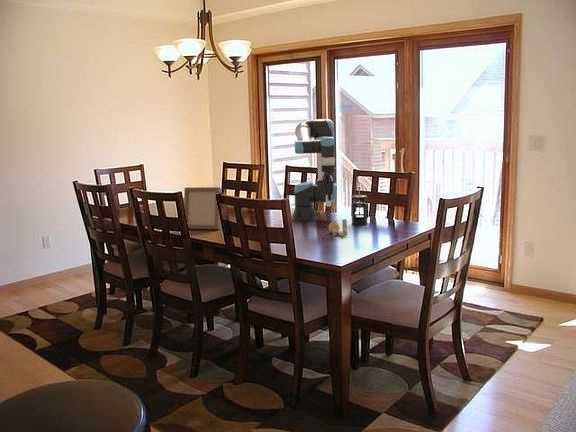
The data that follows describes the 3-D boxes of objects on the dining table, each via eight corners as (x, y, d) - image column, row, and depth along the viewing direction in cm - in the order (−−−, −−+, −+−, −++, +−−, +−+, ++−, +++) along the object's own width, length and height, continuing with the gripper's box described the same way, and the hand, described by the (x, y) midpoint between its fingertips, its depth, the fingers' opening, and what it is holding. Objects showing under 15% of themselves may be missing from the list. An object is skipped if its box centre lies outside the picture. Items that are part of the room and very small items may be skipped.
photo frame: (217, 230, 327) (215, 188, 323) (183, 230, 332) (180, 188, 328) (226, 225, 342) (224, 185, 337) (193, 225, 346) (190, 185, 342)
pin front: (334, 231, 306) (340, 234, 298) (338, 229, 307) (344, 232, 298) (336, 235, 307) (341, 238, 299) (339, 233, 307) (345, 236, 299)
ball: (331, 227, 306) (330, 235, 310) (341, 226, 307) (340, 234, 311) (327, 220, 310) (326, 228, 314) (338, 219, 311) (336, 227, 315)
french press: (358, 226, 326) (357, 187, 322) (347, 224, 334) (347, 186, 330) (372, 223, 333) (372, 185, 329) (362, 221, 340) (361, 184, 336)
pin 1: (331, 235, 304) (331, 220, 303) (335, 235, 305) (335, 219, 303) (333, 236, 302) (333, 221, 300) (337, 235, 303) (337, 220, 301)
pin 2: (341, 234, 306) (341, 219, 304) (346, 234, 307) (345, 218, 305) (343, 235, 304) (343, 220, 302) (347, 234, 304) (347, 219, 303)
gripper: (317, 164, 318) (318, 204, 322) (325, 166, 305) (326, 208, 310) (329, 163, 320) (330, 203, 324) (338, 165, 307) (339, 207, 312)
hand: (328, 205), depth 317 cm, fingers closed
